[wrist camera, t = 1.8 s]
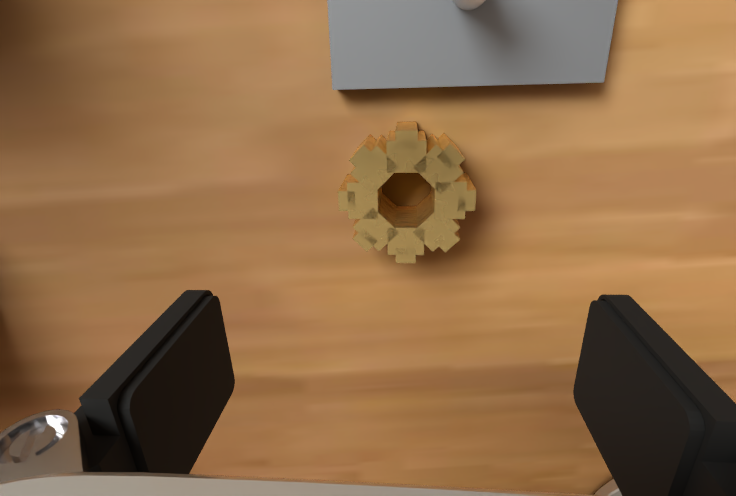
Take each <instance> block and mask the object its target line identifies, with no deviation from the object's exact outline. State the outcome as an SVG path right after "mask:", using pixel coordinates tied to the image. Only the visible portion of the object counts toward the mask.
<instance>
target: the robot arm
mask: <svg viewBox="0 0 736 496" xmlns="http://www.w3.org/2000/svg"><path fill="white" fill-rule="evenodd" d="M234 384H235V379H234V373H233V368H232V363H231V358H230V353H229V347H228V342H227V337H226V332H225V327H224V322H223V316H222V311H221V306H220V301H219V298H218V297H217V296H213V294H212V293H211V291H209V290H186V291H185V292H184V293H183V294H182V295H181V296H180V297H179V298H178V299H177V300H176V301H175V302H174V303H173V304H172V305H171V306H170V307H169V308H168V309H167V310H166V311H165V312H164V313H163V314H162V315H161V316H160V317H159V318H158V319H157V320H156V321H155V322H154V323H153V324H152V325H151V326H150V327H149V328H148V329H147V330H146V331H145V332H144V333H143V334H142V335H141V336H140V337H139V338H138V339H137V340H136V341H135V342H134V343H133V344H132V345H131V346H130V347H129V348H128V349H127V350H126V351H125V352H124V353H123V354H122V355H121V356H120V357H119V358H118V359H117V360H116V361H115V362H114V363H113V365H112V366H111V367H110V368H109V369H108V370H107V371H106V372H105V373H104V374H103V375H102V376H101V377H100V378H99V379H98V380H97V381H96V382H95V383H94V384H93V385H92V386H91V387H90V388H89V389H88V390H87V391H86V392H85V393H84V394H83V395H82V396H81V397H80V398H79V400H80V402H81V405H82V406H81V407H80V408H79V409H78V410H77V411H76V412H75V413H72V412H70V411H68V410H60V409H57V410H49V411H44V412H41V413H37V414H34V415H31V416H29V417H27V418H25V419H22V420H20V421H18V422H16V423H15V424H13V425H12V426H10V427H8V428H7V429H5V430H4V431H3V432H1V433H0V496H736V404H735V403H734V401H733V400H732V399H731V398H730V397H729V396H728V395H727V394H726V393H725V392H724V391H723V390H722V389H721V388H720V387H719V386H718V385H717V384H716V383H715V382H714V381H713V380H712V379H711V378H710V377H709V376H708V375H707V374H706V373H705V372H704V371H703V370H702V369H701V368H700V367H699V366H698V365H697V364H696V363H695V362H694V361H693V360H692V359H691V358H690V357H689V356H688V355H687V354H686V353H685V352H684V351H683V350H682V349H681V348H680V347H679V345H678V344H677V343H676V342H675V341H674V340H673V339H672V338H671V337H670V336H669V335H668V334H667V333H666V332H665V331H664V330H663V329H662V328H661V327H660V326H659V325H658V324H657V323H656V322H655V321H654V320H653V319H652V318H651V317H650V316H649V315H648V314H647V313H646V312H645V311H644V310H643V309H642V308H641V307H640V306H639V305H638V304H637V303H636V302H635V301H634V300H633V299H632V298H631V297H630V296H629V295H601V296H600V297H599V298H598V301H596V300H594V301H592V302H591V304H590V308H589V313H588V318H587V323H586V328H585V333H584V338H583V343H582V349H581V354H580V359H579V364H578V369H577V374H576V379H575V384H574V400H575V403H576V405H577V407H578V409H579V411H580V413H581V415H582V417H583V419H584V421H585V423H586V425H587V427H588V429H589V431H590V433H591V435H592V437H593V439H594V441H595V443H596V445H597V447H598V449H599V451H600V453H601V455H602V457H603V459H604V461H605V463H606V465H607V467H608V469H609V471H610V473H611V475H612V477H613V479H612V480H611V481H609V482H608V483H606V484H605V485H604V486H602V487H601V488H600V489H599V490H598V491H597V492H596V493H595V494H594V495H588V494H570V493H552V492H535V491H517V490H500V489H482V488H464V487H445V486H426V485H407V484H387V483H367V482H347V481H327V480H307V479H285V478H262V477H240V476H218V475H195V474H189V473H190V471H191V469H192V467H193V465H194V464H195V462H196V460H197V458H198V456H199V454H200V452H201V450H202V449H203V447H204V445H205V443H206V441H207V439H208V437H209V435H210V434H211V432H212V430H213V428H214V426H215V424H216V422H217V420H218V419H219V417H220V415H221V413H222V411H223V409H224V407H225V406H226V404H227V402H228V400H229V398H230V396H231V394H232V392H233V389H234Z"/></svg>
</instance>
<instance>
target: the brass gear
mask: <svg viewBox="0 0 736 496" xmlns="http://www.w3.org/2000/svg"><path fill="white" fill-rule="evenodd" d="M464 160H465V158H464V157H463V155H462V154H461V152H460V151H459V149H458V147H457V146H456V145H455V144H454V143H453V142H452V141H451V140H450V139H449V138H448V137H447V136H446V135H445V134H444V133H443V134H442V135H441V136H440V137H439V138H438V139H437V138H436V137H435V136H434V135H433V134H431V135H430V136H429V137H428V138H427V139H426V136H425V132H424V130H418V129H417V123H416V122H397V126H396V130H395V131H389V135H388V138H387V140H386V139H385V138H384V137H383V136H382V135H381V136H380V137H379V138H378V139H377V140H376V139H375V138H373V137H372V136H371V135H369V136H368V137H367V138H366V139H365V140H364V141H363V142H362V143H361V145H360V146H359V147H358V148H357V149H356V151H355V152H354V154H353V155H352V157H351V158H350V160H349V161H350V162H351V163H352V164H353V165H354V168H353V170H352V171H351V173H350V174H348V175H347V177H346V178H345V180H344V182H343V183H342V185H341V187H340V188H339V190H338V202H339V211H348V217H349V219H355V222H354V225H353V228H354V229H355V233H354V236H353V240H354V241H356V242H357V243H358V244H359V245H360V246H361V247H362V248H363V249H364V250H365V251H368V250H369V249H371V248H372V247H373V246H374V247H375V248H376V249H377V250H378V251H380V250H381V249H382V248H383V247H384V246H385V245H386V244H387V243H388V255H396V263H416V255H424V244H425V245H426V246H427V247H428V248H429V249H430V250H431V251H434V250H436V249H437V248H438V247H440V248H441V249H442V250H443V251H444V252H446V251H448V250H449V249H450V248H451V247H452V246H453V245H454V244H456V243H457V242H458V241H459V240H460V237H459V233H458V229H459V228H460V225H459V222H458V219H465V211H475V204H476V189H475V187H474V185H473V184H472V182H471V180H470V178H469V177H468V175H467V173H464V172H463V170H462V169H461V167H460V164H461V163H462V162H463V161H464ZM394 173H419V174H420V175H421V176H422V177H423V178H424V179H425V180H426V181H427V182H428V183H429V184H430V185H431V193H430V194H429V195H427V196H426V197H425V198H424V199H423V200H422V201H421V202H420V203H419V204H418V205H417V206H396V205H395V204H394V203H393V202H391V201H390V200H389V199H388V198H387V197H386V196H385V195H384V194H383V193H382V185H383V184H384V183H385V182H386V181H387V180H388V179H389V178H390V177H391V176H392V175H393V174H394Z"/></svg>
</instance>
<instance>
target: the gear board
mask: <svg viewBox="0 0 736 496" xmlns="http://www.w3.org/2000/svg"><path fill="white" fill-rule="evenodd" d="M617 3H618V0H328V18H329V35H330V53H331V71H332V88H333V90H344V89H381V88H418V87H454V86H491V85H528V84H565V83H602V82H604V79H605V73H606V67H607V62H608V56H609V50H610V44H611V38H612V32H613V27H614V21H615V15H616V9H617Z"/></svg>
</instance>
